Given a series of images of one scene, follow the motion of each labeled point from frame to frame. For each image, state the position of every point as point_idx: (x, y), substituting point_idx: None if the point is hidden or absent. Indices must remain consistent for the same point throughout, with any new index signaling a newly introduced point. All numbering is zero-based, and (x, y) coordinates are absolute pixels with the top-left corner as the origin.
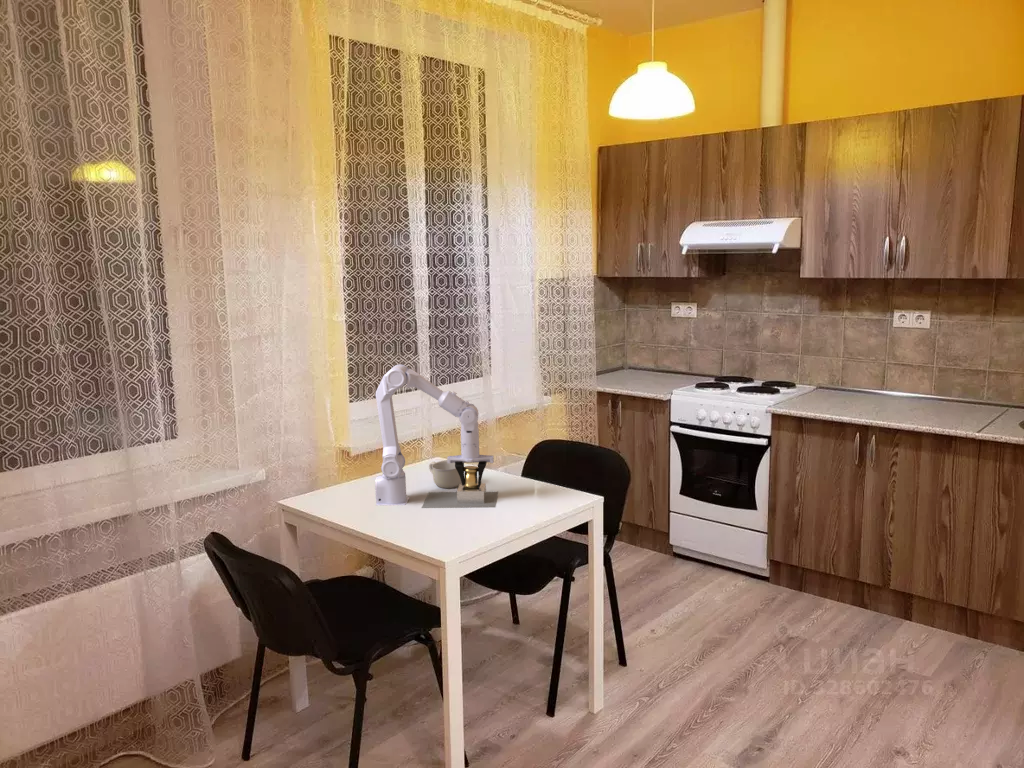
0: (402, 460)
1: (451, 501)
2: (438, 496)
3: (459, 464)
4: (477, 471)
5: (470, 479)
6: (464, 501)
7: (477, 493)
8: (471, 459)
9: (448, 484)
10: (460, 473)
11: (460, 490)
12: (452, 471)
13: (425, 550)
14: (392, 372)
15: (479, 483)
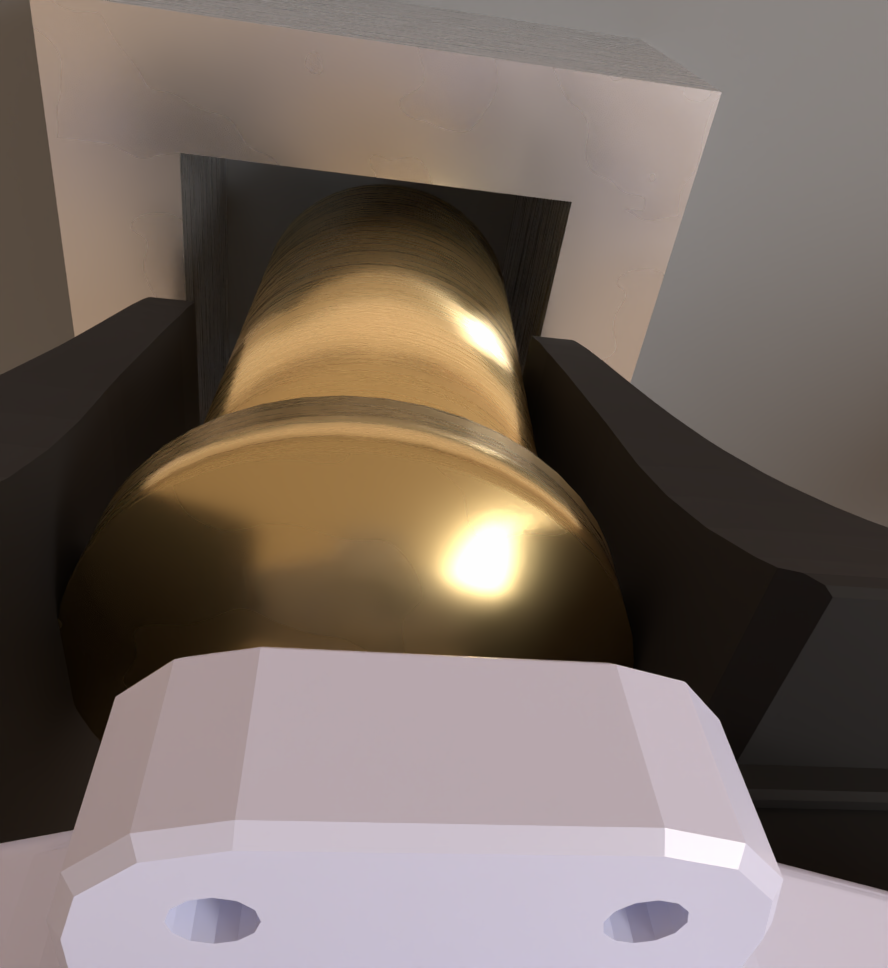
0: None
1: (716, 192)
2: (837, 446)
3: (837, 777)
4: (111, 504)
5: (381, 322)
6: (514, 23)
7: (213, 4)
8: (196, 930)
9: None
10: (711, 473)
11: (625, 159)
12: None
13: None
14: None
15: (151, 306)
